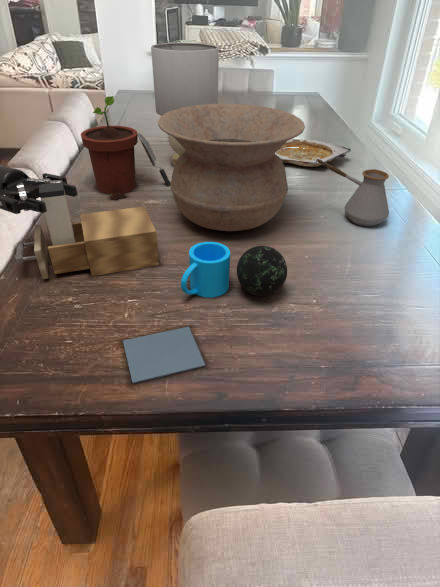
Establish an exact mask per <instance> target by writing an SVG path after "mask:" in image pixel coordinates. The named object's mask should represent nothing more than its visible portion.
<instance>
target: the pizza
mask: <svg viewBox="0 0 440 587" xmlns="http://www.w3.org/2000/svg"><path fill="white" fill-rule="evenodd" d="M286 147H299V148H286ZM282 148H286V149H282ZM303 148H305V149H303ZM280 149H281V150H280ZM278 150H280V151H278ZM278 150H277V151H278V152H277V151H276V152H275V154H276V155H277V156H278V157H279V158H280V159H281V161H282V163H283V164H284V163H285V164H287V163H289V164H291V165H296V166H297V165H298V166H301V167H311V168H313V167H319V166H323V165H322V164H320V163H318V162H317V163H316V165H315V166H314V164H315V162H316V160H317V159H320V160H322V161H323V162H326V163H327V164H330V162H332V161H333V160H334V159H336V158H344V157H346V156H347V154H348V153H350V152H351V151H352V150H351V148H348V147H345V146H343V145H340V144H335V143H331V142H327V141H323V140H319V139H304V138H303V139H301V138H292V139H290V140H288V141H287V142H286V143H285V144H284V145H283V146H282V147H281V148H279V149H278Z"/></svg>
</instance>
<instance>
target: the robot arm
mask: <svg viewBox="0 0 440 587" xmlns="http://www.w3.org/2000/svg"><path fill="white" fill-rule="evenodd" d="M61 182H63V185H64V190H65V195H66V196H69V197H72V198H75V197H77V196H78V190H77V186H75V185H73V184H69V183H68V180H67V176H63V175H62V176H61V175H57V174H51V173H42V178H36V177H32V178H31V177H30V176H29V175H28V174H27V173H26V172H25V171H23V170H22V169H19V168H14V167H9V166H6V165H0V210H1V211H2V210H3V211H6V212H8V213H11V214H14V215H19V214H21V213H22V211H24V212H29V211H31V212H36V213H39V214H40V213H41V214H44V213H45V212H47V209H46V205H45V202H43V201H41V199H40V194H39V185H42V184H51V183H61Z"/></svg>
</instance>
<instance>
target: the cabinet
mask: <svg viewBox="0 0 440 587" xmlns="http://www.w3.org/2000/svg"><path fill="white" fill-rule="evenodd" d="M79 217H80V222H81V224H82V230H83V235H84V241H85V246H86V251H87V256H88V261H89V266H90V269H89V272H90V275H91V277H97V276H102V275H109V274H114V273H120V272H125V271H132V270H139V269H145V268H152V267H156V266H157V267H158V266H160V261H159V252H158V251H159V249H158V238H157V237H158V236H157V230H156V228H155V226H154V224H153V221H152V219H151V217H150V215H149V212H148V210H147V209H146V206H145V205H144V206H137V207H129V208H120V209H113V210H104V211H97V212H96V211H95V212H90V213H89V212H88V213H81V214H79Z"/></svg>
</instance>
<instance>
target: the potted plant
mask: <svg viewBox="0 0 440 587" xmlns="http://www.w3.org/2000/svg"><path fill="white" fill-rule="evenodd" d="M104 102H105V103H104V104H106V105H105V106H104V109H103V111H102V109H101V108H100V107H98V106H97V107H96V108H95V109H94V111H93V112H92V113H93V114H97V115H100V116H101V115H102V116H103V115H104V118H105V124H106V125H101V126H94V127H91V128H87V129H85V130H83V131H82V132H81V133H80V138H81V141H82V146H83V147H84V148H86V149H87V150H88V151H87V152H88V155H89V158H90V163H91V166H92V172H93V176H94V181H95V184H96V188H97V191H98V192H100V193H102V194H105V195H110V196H109V200H113V201H118V200H120V199H126V197H127V195H126V193H129V192H132V191H133V190H135V189H136V187H137V181H136V180H137V178H136V157H135V146H136V145H137V144H138V142H139V141H140V143H141V145H142V147H143V149H144V150H145V153H146V155H147V157H148V159H149V161H150V163H151V165H152V167H154V168H158V169H159V170H158V171H159V173H160V175H161V178H162V180H163V181H164V184H165V186H171V180H170V179H169V177H168V175H167V173H166V171H165V169H164V168H163V167H161V166H159V165H156V161H157V156H156V154H155V152H154V150H153V149H152V146H151V144H150V142H149V141H148V140H147V139H146V137H145V136H144V135H143V134H142V133H140V132H138V131H137V129H135V128H133V127H129V126H125V125H110V124H109V119H108V116H107V108H108V107H109V106H111V105H113V104H114V103H115V96H114V95H111V96H109V95H108V96H105V98H104ZM138 139H139V141H138Z"/></svg>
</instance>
